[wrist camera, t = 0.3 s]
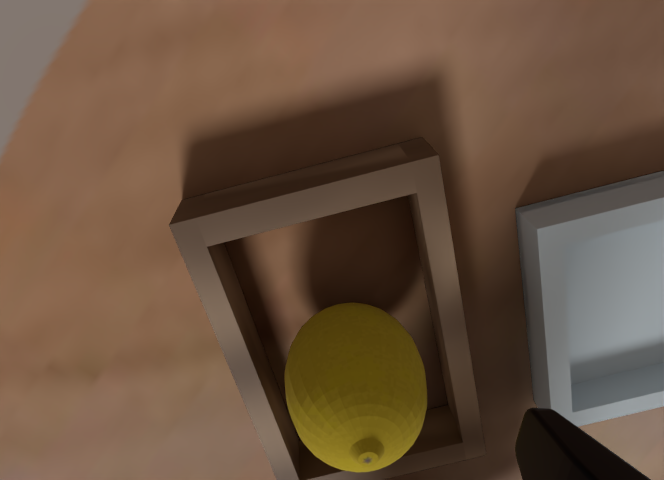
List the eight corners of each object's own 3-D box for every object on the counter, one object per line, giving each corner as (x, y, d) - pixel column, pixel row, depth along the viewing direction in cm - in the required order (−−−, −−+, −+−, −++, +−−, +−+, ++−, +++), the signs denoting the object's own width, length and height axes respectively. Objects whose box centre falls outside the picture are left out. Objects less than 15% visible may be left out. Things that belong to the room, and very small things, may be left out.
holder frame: (470, 417, 27) (486, 455, 25) (286, 461, 28) (286, 502, 25) (422, 137, 21) (438, 154, 18) (181, 200, 21) (168, 225, 19)
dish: (747, 349, 27) (784, 377, 25) (533, 400, 27) (552, 432, 25) (775, 142, 22) (824, 157, 20) (515, 208, 22) (537, 229, 20)
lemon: (357, 247, 23) (389, 365, 15) (425, 328, 25) (482, 465, 18) (260, 316, 24) (247, 457, 17) (333, 388, 26) (350, 540, 19)
